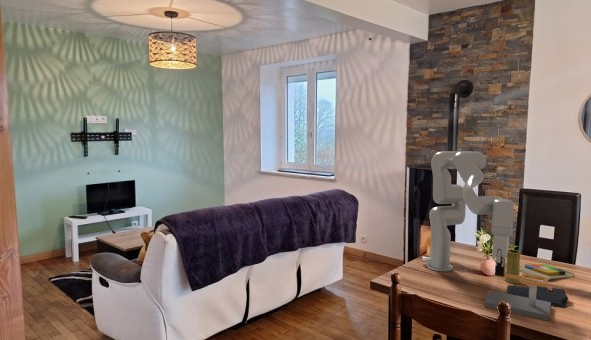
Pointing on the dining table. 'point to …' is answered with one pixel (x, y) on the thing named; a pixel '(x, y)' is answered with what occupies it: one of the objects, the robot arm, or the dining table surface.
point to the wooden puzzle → (546, 271)
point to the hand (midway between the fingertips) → (500, 274)
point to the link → (523, 276)
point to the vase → (513, 265)
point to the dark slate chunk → (542, 294)
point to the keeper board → (521, 303)
